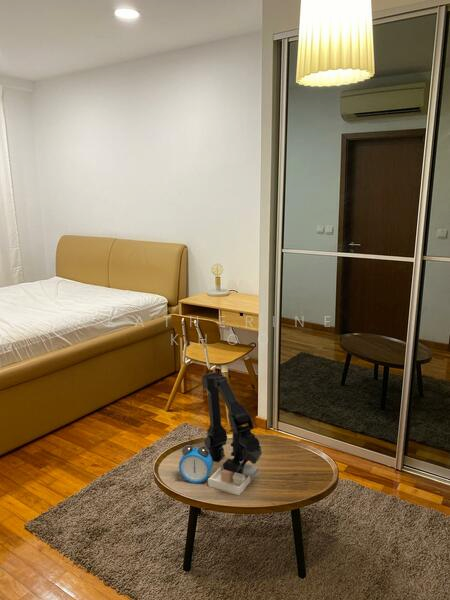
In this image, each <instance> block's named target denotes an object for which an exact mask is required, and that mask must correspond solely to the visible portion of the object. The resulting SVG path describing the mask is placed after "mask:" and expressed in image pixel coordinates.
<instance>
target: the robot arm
mask: <svg viewBox="0 0 450 600" xmlns="http://www.w3.org/2000/svg"><path fill="white" fill-rule="evenodd" d="M201 383H202V386H203V389H204V391H205V392H206V393H207V401H208V413H209V423H210V424H209V426H208V429H207V432H206V435H207V436H206V437H205V438H204V440H203V443H204V446H205V447H207V448H208V449H209V454H210V456H211V457H212V461H213V462H215V463H219V462H220V461H221V460H222V459H223V458H224V457H225V456H226V454H225V449H224V446H226V444H227V440H228V435H227V430H226V429H225V428H224V426H223V425H222V417H221V415H222V414H221V405H220V404H221V403H220V396H221V398H222V400H223V402H224V404H225V406H226V408H227V411H228V412H227V417H228V420H229V421H228V422H229V424H230V428H231V429H232V441H231V443H230V446H231V447H232V451H231V453H230V456H232V457H233V458H227V459H226V460H225V461H224V462H223V464H222V466H223V469H224V470H227V471H231V472H234V473H236V472H237V473H240V474H243V470H244V466H245V464H247V462H250V463H251V464H253V465H255V464H256V463H257V462H258V461H260V457H261V455H262V454H263V453H262V446H261V445H260V441H259V439H258V438H257V437H256V435H255V434H254V433H253V432H252V431H251V430H254V428H255V426H254V422H253V419H252V417H251V415H250V413H249V411H248V410H247V409H246V407H245V405H242V404H240V402H239V401H238V399H237V397H236V395H235V393H234V391H233V390H232V388H231V386H230V384H229V381H228V378H227V377H226V376H225V375H224V374H222V373H220V372H218V371H214V372H209V373H206V374H205V373H204V375H203V376H202V378H201Z"/></svg>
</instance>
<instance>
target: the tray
mask: <svg viewBox="0 0 450 600" xmlns="http://www.w3.org/2000/svg"><path fill="white" fill-rule="evenodd" d="M221 467H222V466H220V467H219V468H217V469H216V471H215V472H214V473H213V474H212V475H211V476H210V477H208V478H207V483H208V484H207V485H208V487H210V488H213V489H215V490H218V491H222V492H226V493H229V494H231V495H232V494H233V495H235V496H241V494H242V493H243V492H244V491H245V490H246V488H247V487H248V486H249V484H250V483H251V482H250V476H248V477H247V478H246V479H245V480H244V482H243V483H242V484H241V485H238V484H235V483H234V480H233V481H232V482H231V483H226V482H223V481H221Z"/></svg>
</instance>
